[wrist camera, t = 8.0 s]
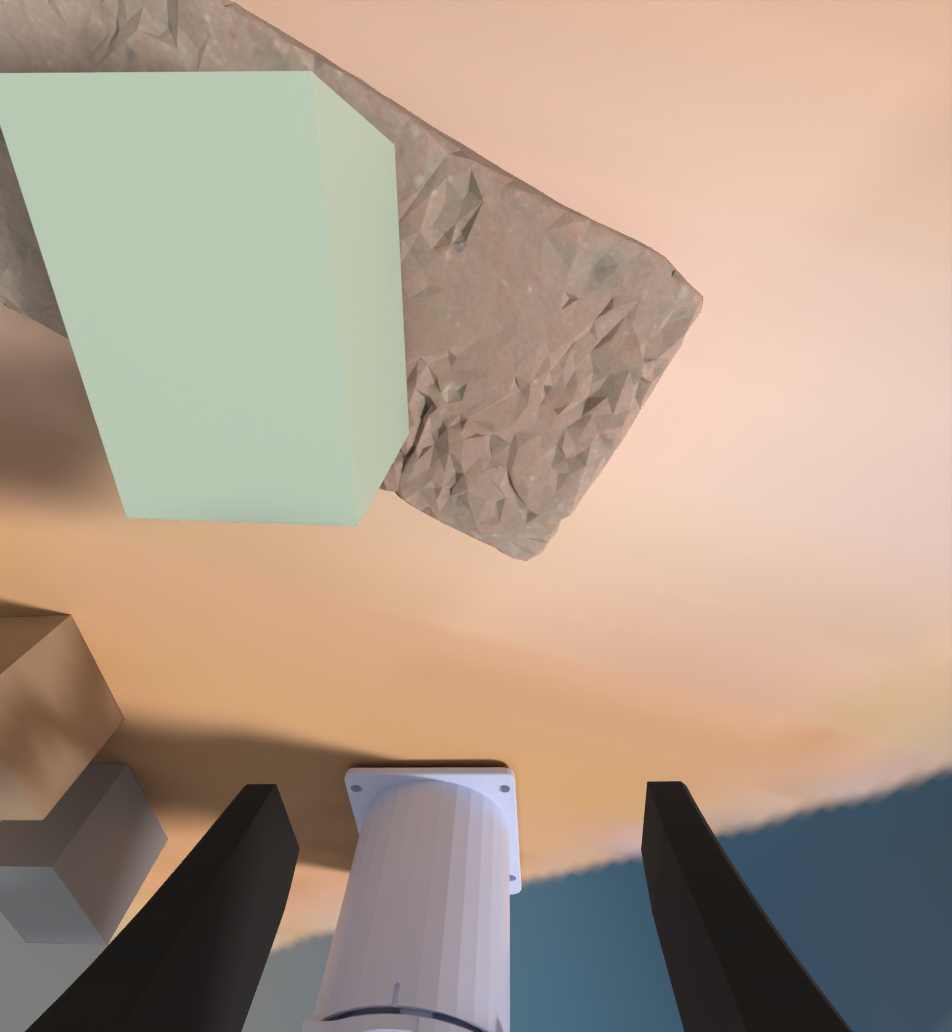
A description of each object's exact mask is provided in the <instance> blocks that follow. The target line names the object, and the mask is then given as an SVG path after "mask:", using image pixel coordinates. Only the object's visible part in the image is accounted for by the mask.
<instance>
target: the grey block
mask: <svg viewBox="0 0 952 1032" xmlns="http://www.w3.org/2000/svg"><path fill="white" fill-rule="evenodd" d="M167 840H168V838H167V836H166V834H165V833H164V831H163V829H162V827H161V825H160V823H159V821H158V819H157V817H156V816H155V814H154V812H153V810H152V808H151V806H150V804H149V802H148V800H147V798H146V797H145V795H144V793H143V791H142V789H141V787H140V785H139V783H138V781H137V780H136V778H135V776H134V774H133V772H132V770H131V768H130V766H129V764H128V763H89V764H88V765H87V766H86V768H85V769H84V770H83V771H82V773H81V774H80V775H79V776H78V778H77V779H76V780H75V781H74V782H73V784H72V785H71V786H70V787H69V789H68V790H67V791H66V792H65V794H64V795H63V796H62V797H61V799H60V800H59V801H58V802H57V803H56V805H55V806H54V807H53V808H52V810H51V811H50V812H49V813H48V815H47V816H46V817H45V818H44V820H2V821H1V822H0V911H1V913H2V914H3V915H4V916H5V918H6V919H7V920H8V921H9V922H10V923H11V925H12V926H13V927H14V928H15V930H17V932H18V933H19V934H20V935H21V937H22V938H23V939H24V940H25V941H26V943H54V944H93V945H108V943H109V941H110V939H111V938H112V936H113V934H114V932H115V931H116V929H117V927H118V925H119V924H120V922H121V920H122V919H123V917H124V915H125V913H126V912H127V910H128V908H129V906H130V905H131V903H132V901H133V899H134V898H135V896H136V894H137V892H138V891H139V889H140V887H141V885H142V884H143V882H144V880H145V878H146V877H147V875H148V873H149V871H150V870H151V868H152V866H153V864H154V863H155V861H156V859H157V857H158V856H159V854H160V852H161V850H162V849H163V847H164V845H165V843H166V842H167Z"/></svg>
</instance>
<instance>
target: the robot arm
mask: <svg viewBox="0 0 952 1032" xmlns="http://www.w3.org/2000/svg"><path fill="white" fill-rule="evenodd" d="M344 782H345V785H346V789H347V793H348V796H349V800H350V804H351V807H352V811H353V815H354V818H355V822H356V826H357V829H358V833H359V839H358V843H357V847H356V851H355V855H354V859H353V863H352V867H351V871H350V875H349V879H348V883H347V887H346V891H345V895H344V899H343V903H342V906H341V910H340V914H339V918H338V922H337V926H336V930H335V934H334V938H333V942H332V946H331V950H330V954H329V958H328V962H327V966H326V970H325V974H324V978H323V982H322V986H321V990H320V994H319V998H318V1001H317V1006H316V1009H315V1013H314V1018H313V1021H308V1020H306V1021H304V1022H303V1024H302V1028H301V1032H510V936H509V935H510V926H509V925H510V915H509V914H510V907H509V906H510V905H509V904H510V901H509V900H510V899H509V898H510V894H516V893H519V892H520V891H521V871H520V855H519V838H518V821H517V805H516V788H515V774H514V772H513V771H512V770H511V769H509V768H505V767H435V768H351V769H349V770H347V772H346V774H345V777H344ZM299 849H300V848H299V846H298V843H297V840H296V837H295V835H294V832H293V829H292V826H291V824H290V821H289V818H288V815H287V813H286V810H285V807H284V804H283V802H282V799H281V796H280V793H279V791H278V788H277V785H276V784H250V785H246V786H245V787H244V788H243V789H242V790H241V791H240V793H239V794H238V795H237V796H236V797H235V799H234V800H233V801H232V802H231V803H230V805H229V806H228V807H227V808H226V809H225V811H224V812H223V813H222V814H221V816H220V817H219V818H218V819H217V820H216V822H215V823H214V824H213V825H212V827H211V828H210V829H209V830H208V831H207V833H206V834H205V835H204V836H203V837H202V839H201V840H200V841H199V842H198V843H197V845H196V846H195V847H194V848H193V849H192V851H191V852H190V853H189V854H188V855H187V857H186V858H185V859H184V860H183V861H182V863H181V864H180V865H179V866H178V867H177V868H176V870H175V871H174V872H173V873H172V874H171V875H170V877H169V878H168V879H167V880H166V881H165V882H164V884H163V885H162V886H161V887H160V888H159V889H158V891H157V892H156V893H155V894H154V895H153V896H152V898H151V899H150V900H149V901H148V902H147V903H146V904H145V906H144V907H143V908H142V909H141V910H140V911H139V912H138V914H137V915H136V916H135V917H134V918H133V919H132V920H131V921H130V922H129V923H128V924H127V926H126V927H125V928H124V929H123V930H122V931H121V932H120V933H119V934H118V935H117V937H116V938H115V939H114V940H113V941H112V942H111V943H110V944H109V945H108V946H107V947H106V949H105V950H104V951H103V952H102V953H101V954H100V955H99V956H98V957H97V958H96V959H95V961H94V962H93V963H92V964H91V965H90V966H89V967H88V968H87V969H86V970H85V971H84V972H83V973H82V974H81V975H80V976H79V977H78V978H77V979H76V981H75V982H74V983H73V984H72V985H71V986H70V987H69V988H68V989H67V990H66V991H65V992H64V993H63V994H62V995H61V996H60V997H59V998H58V999H57V1000H56V1001H55V1002H54V1003H53V1004H52V1005H51V1006H50V1007H49V1008H48V1009H47V1010H46V1011H45V1012H44V1013H43V1014H42V1015H41V1016H40V1017H39V1018H38V1019H37V1020H36V1021H35V1022H34V1023H33V1024H32V1025H31V1026H30V1027H29V1028H28V1029H27V1030H26V1031H25V1032H241V1031H242V1028H243V1025H244V1023H245V1020H246V1017H247V1014H248V1011H249V1009H250V1006H251V1003H252V1000H253V997H254V995H255V992H256V989H257V986H258V983H259V981H260V978H261V975H262V972H263V970H264V967H265V964H266V961H267V958H268V956H269V953H270V950H271V947H272V944H273V941H274V939H275V936H276V933H277V930H278V927H279V924H280V922H281V919H282V916H283V913H284V910H285V906H286V902H287V899H288V895H289V891H290V887H291V883H292V879H293V875H294V871H295V866H296V862H297V858H298V853H299ZM641 852H642V857H643V863H644V869H645V875H646V880H647V886H648V891H649V897H650V902H651V908H652V913H653V917H654V921H655V925H656V928H657V932H658V936H659V940H660V943H661V947H662V951H663V955H664V958H665V962H666V965H667V969H668V973H669V977H670V980H671V984H672V988H673V991H674V995H675V999H676V1002H677V1006H678V1010H679V1014H680V1017H681V1021H682V1025H683V1028H684V1032H853V1031H852V1030H851V1028H850V1027H849V1026H848V1025H847V1023H846V1022H845V1021H844V1020H843V1018H842V1017H841V1016H840V1015H839V1013H838V1012H837V1011H836V1009H835V1008H834V1007H833V1005H832V1004H831V1003H830V1001H829V1000H828V999H827V998H826V996H825V995H824V994H823V992H822V991H821V990H820V988H819V987H818V986H817V985H816V983H815V982H814V980H813V979H812V978H811V977H810V975H809V973H808V972H807V971H806V969H805V968H804V967H803V965H802V964H801V963H800V961H799V960H798V959H797V957H796V956H795V954H794V953H793V952H792V950H791V949H790V948H789V946H788V945H787V943H786V942H785V941H784V939H783V938H782V936H781V935H780V934H779V932H778V931H777V930H776V928H775V927H774V925H773V924H772V922H771V921H770V919H769V918H768V916H767V915H766V913H765V912H764V910H763V909H762V907H761V906H760V904H759V903H758V902H757V900H756V899H755V897H754V896H753V894H752V893H751V891H750V890H749V888H748V887H747V885H746V884H745V883H744V881H743V880H742V878H741V876H740V875H739V873H738V872H737V870H736V869H735V867H734V866H733V864H732V863H731V861H730V860H729V858H728V856H727V854H726V853H725V851H724V850H723V848H722V847H721V845H720V843H719V842H718V840H717V838H716V837H715V835H714V834H713V832H712V830H711V829H710V827H709V825H708V824H707V822H706V820H705V818H704V817H703V815H702V813H701V812H700V810H699V808H698V806H697V804H696V803H695V801H694V799H693V797H692V796H691V794H690V792H689V790H688V788H687V786H686V785H685V784H683V783H682V782H681V781H669V782H647V791H646V802H645V813H644V824H643V835H642V846H641Z"/></svg>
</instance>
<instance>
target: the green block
mask: <svg viewBox="0 0 952 1032" xmlns="http://www.w3.org/2000/svg"><path fill="white" fill-rule="evenodd" d="M0 126H1V129H2V132H3V135H4V139H5V142H6V145H7V148H8V151H9V154H10V157H11V160H12V163H13V166H14V170H15V173H16V176H17V179H18V182H19V185H20V188H21V191H22V194H23V198H24V201H25V204H26V207H27V210H28V213H29V216H30V219H31V222H32V225H33V229H34V232H35V235H36V238H37V241H38V244H39V247H40V250H41V253H42V257H43V260H44V263H45V266H46V269H47V272H48V275H49V278H50V281H51V284H52V288H53V291H54V294H55V297H56V300H57V303H58V306H59V309H60V312H61V315H62V319H63V322H64V325H65V328H66V331H67V334H68V337H69V340H70V343H71V347H72V350H73V353H74V356H75V359H76V362H77V365H78V368H79V371H80V374H81V378H82V381H83V384H84V387H85V390H86V393H87V396H88V399H89V402H90V406H91V409H92V412H93V415H94V418H95V421H96V424H97V427H98V430H99V433H100V437H101V440H102V443H103V446H104V449H105V452H106V455H107V458H108V461H109V464H110V468H111V471H112V474H113V477H114V480H115V483H116V486H117V489H118V492H119V496H120V499H121V502H122V505H123V508H124V511H125V514H126V517H127V518H136V519H164V520H192V521H221V522H249V523H277V524H305V525H334V526H358V525H359V523H360V522H361V520H362V518H363V516H364V514H365V513H366V511H367V509H368V507H369V505H370V504H371V502H372V500H373V498H374V496H375V494H376V493H377V491H378V489H379V487H380V485H381V484H382V482H383V480H384V478H385V476H386V474H387V473H388V471H389V469H390V467H391V465H392V464H393V462H394V460H395V458H396V456H397V454H398V453H399V451H400V449H401V447H402V445H403V444H404V442H405V440H406V438H407V436H408V434H409V421H408V401H407V381H406V361H405V341H404V321H403V302H402V282H401V262H400V242H399V222H398V202H397V182H396V162H395V145H394V144H393V143H392V142H391V141H390V140H389V139H388V138H386V137H385V136H384V135H383V134H382V133H381V132H380V131H378V130H377V129H376V128H375V127H374V126H373V125H372V124H371V123H369V122H368V121H367V120H366V119H365V118H364V117H363V116H361V115H360V114H359V113H358V112H357V111H356V110H355V109H353V108H352V107H351V106H350V105H349V104H348V103H347V102H345V101H344V100H343V99H342V98H341V97H340V96H339V95H338V94H336V93H335V92H334V91H333V90H332V89H331V88H330V87H328V86H327V85H326V84H325V83H324V82H323V81H322V80H320V79H319V78H318V77H317V76H316V75H315V74H314V73H313V72H311V71H229V72H93V73H0Z"/></svg>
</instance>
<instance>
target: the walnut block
mask: <svg viewBox="0 0 952 1032" xmlns="http://www.w3.org/2000/svg"><path fill="white" fill-rule="evenodd" d="M124 719H125V718H124V716H123V714H122V712H121V710H120V709H119V707H118V705H117V703H116V701H115V699H114V697H113V695H112V693H111V691H110V689H109V687H108V685H107V683H106V681H105V679H104V677H103V676H102V674H101V672H100V670H99V668H98V666H97V664H96V662H95V660H94V658H93V656H92V654H91V652H90V650H89V648H88V646H87V644H86V643H85V641H84V639H83V637H82V635H81V633H80V631H79V629H78V627H77V625H76V623H75V621H74V619H73V617H72V615H46V616H16V617H0V820H44V818H45V817H46V816H47V815H48V813H49V812H50V811H51V810H52V808H53V807H54V806H55V805H56V803H57V802H58V801H59V800H60V799H61V797H62V796H63V795H64V794H65V792H66V791H67V790H68V789H69V787H70V786H71V785H72V784H73V782H74V781H75V780H76V779H77V778H78V776H79V775H80V774H81V773H82V771H83V770H84V769H85V768H86V766H87V765H88V764H89V763H90V761H91V760H92V759H93V758H94V756H95V755H96V754H97V753H98V752H99V750H100V749H101V748H102V747H103V745H104V744H105V743H106V742H107V740H108V739H109V738H110V737H111V735H112V734H113V733H114V732H115V731H116V729H117V728H118V727H119V726H120V724H121V723H122V722H123V721H124Z"/></svg>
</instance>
